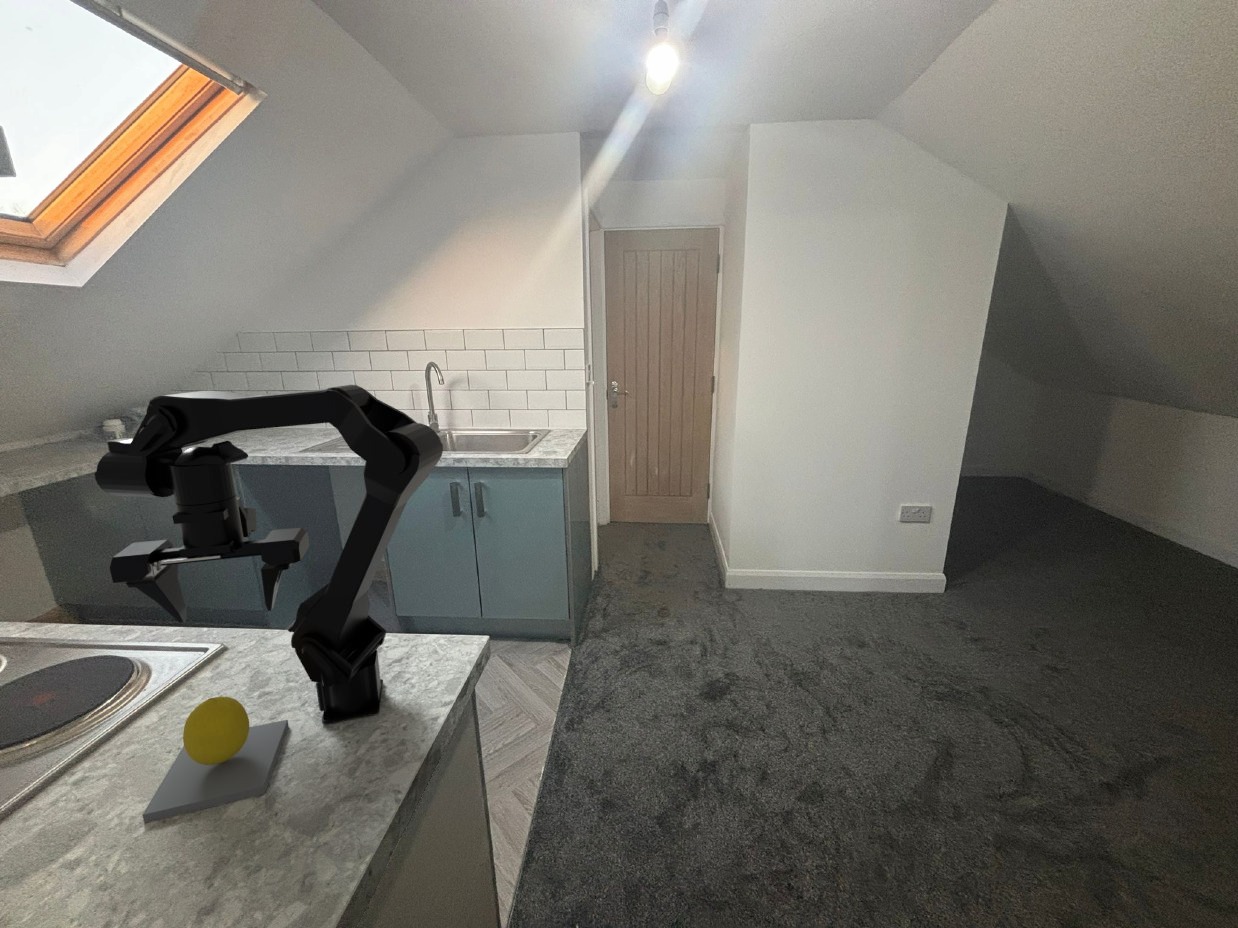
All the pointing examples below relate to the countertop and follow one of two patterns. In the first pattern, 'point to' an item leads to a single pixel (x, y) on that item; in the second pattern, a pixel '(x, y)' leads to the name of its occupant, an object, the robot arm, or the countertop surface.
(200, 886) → the countertop surface
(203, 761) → the lemon
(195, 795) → the mat
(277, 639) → the countertop surface
